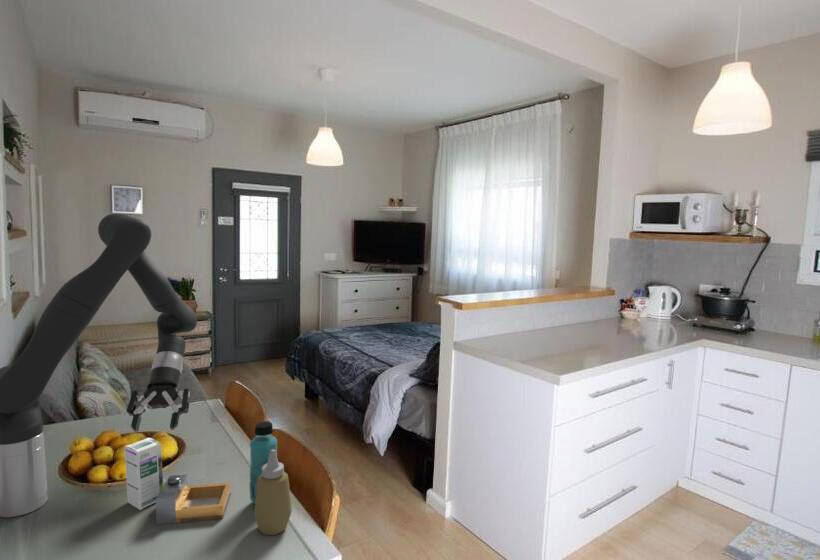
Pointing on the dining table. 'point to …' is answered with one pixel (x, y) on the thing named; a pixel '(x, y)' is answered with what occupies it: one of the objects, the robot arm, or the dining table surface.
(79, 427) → the dining table surface
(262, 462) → the beverage bottle
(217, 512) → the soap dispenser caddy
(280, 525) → the squeeze bottle
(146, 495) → the syrup box
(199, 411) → the dining table surface
